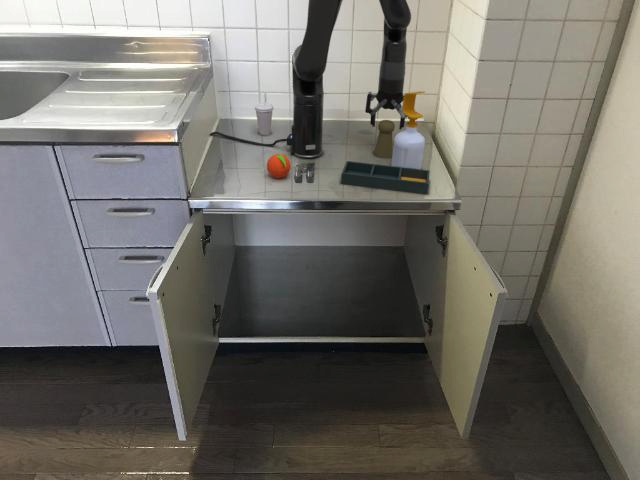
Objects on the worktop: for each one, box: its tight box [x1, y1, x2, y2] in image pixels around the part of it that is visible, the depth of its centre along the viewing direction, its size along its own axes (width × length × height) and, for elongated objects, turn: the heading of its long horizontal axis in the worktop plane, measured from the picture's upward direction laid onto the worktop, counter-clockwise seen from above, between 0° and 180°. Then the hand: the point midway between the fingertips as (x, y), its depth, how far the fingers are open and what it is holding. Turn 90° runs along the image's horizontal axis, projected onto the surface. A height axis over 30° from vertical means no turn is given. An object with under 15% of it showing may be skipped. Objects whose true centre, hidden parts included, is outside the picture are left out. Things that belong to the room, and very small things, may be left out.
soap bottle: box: [390, 90, 426, 169], centre depth 147 cm, size 9×9×25 cm
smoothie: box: [254, 92, 275, 136], centre depth 171 cm, size 6×6×14 cm
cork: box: [373, 119, 396, 158], centre depth 160 cm, size 6×6×11 cm
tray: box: [340, 160, 430, 195], centre depth 146 cm, size 25×9×3 cm, turn 78°
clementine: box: [266, 153, 292, 179], centre depth 145 cm, size 8×7×7 cm
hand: (387, 127), depth 158 cm, fingers open, 8 cm apart
